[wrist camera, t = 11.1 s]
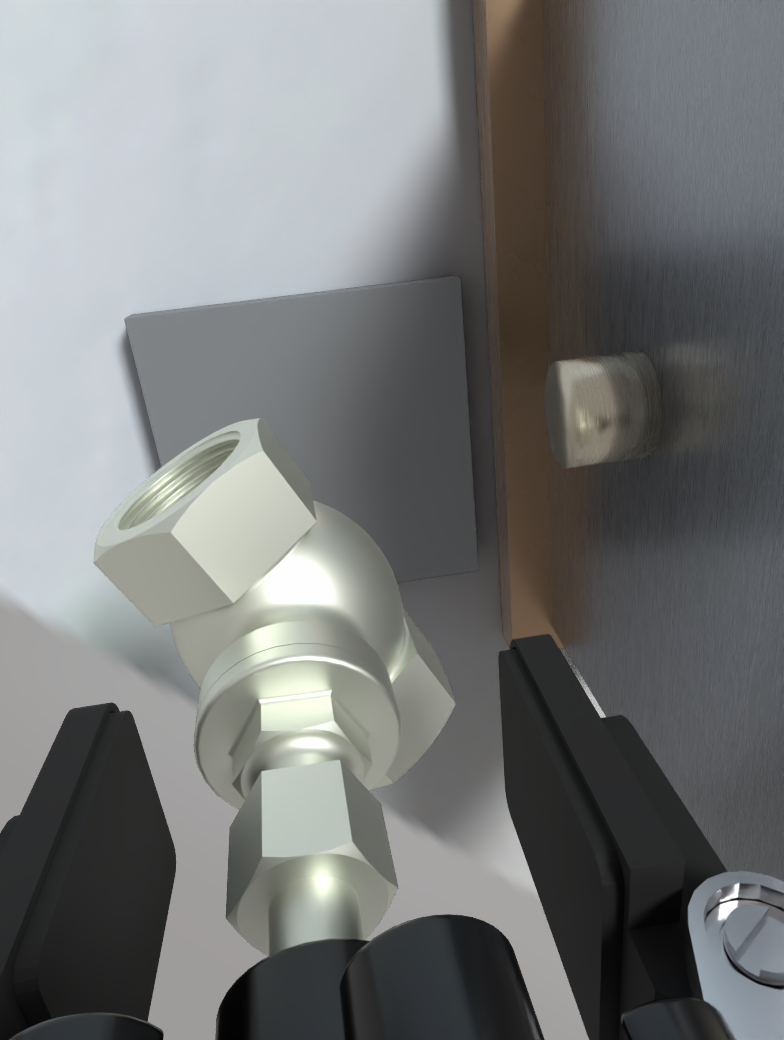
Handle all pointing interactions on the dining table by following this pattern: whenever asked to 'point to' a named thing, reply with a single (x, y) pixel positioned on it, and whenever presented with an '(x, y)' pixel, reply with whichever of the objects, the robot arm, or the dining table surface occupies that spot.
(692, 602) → the box
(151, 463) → the dining table surface
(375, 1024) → the valve
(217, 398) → the parts mat
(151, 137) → the dining table surface
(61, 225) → the dining table surface
